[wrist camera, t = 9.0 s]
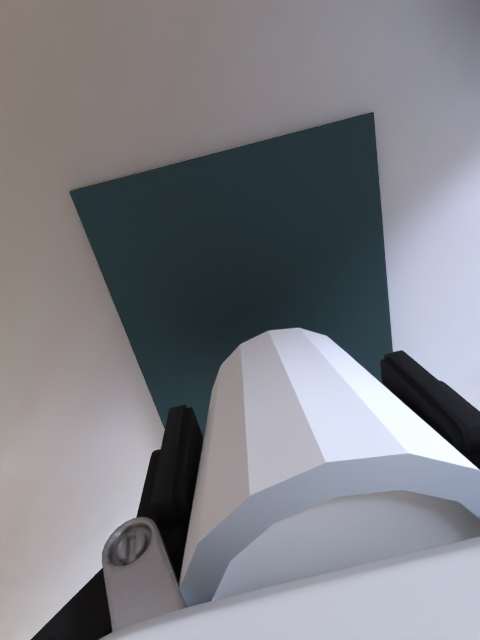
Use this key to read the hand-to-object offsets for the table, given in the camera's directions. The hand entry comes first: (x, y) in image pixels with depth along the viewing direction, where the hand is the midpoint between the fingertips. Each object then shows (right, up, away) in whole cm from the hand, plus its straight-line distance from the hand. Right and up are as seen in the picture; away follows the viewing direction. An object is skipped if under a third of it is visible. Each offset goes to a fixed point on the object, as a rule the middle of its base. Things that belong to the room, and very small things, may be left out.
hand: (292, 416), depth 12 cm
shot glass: (0, 0, +1) cm, 1 cm away
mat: (0, +1, +6) cm, 6 cm away
